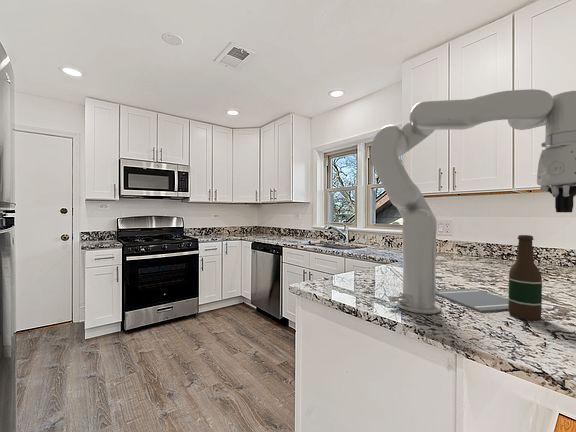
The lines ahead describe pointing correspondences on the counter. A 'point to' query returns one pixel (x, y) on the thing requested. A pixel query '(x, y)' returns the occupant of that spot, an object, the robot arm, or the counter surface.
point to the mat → (476, 299)
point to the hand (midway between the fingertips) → (564, 212)
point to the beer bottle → (525, 283)
